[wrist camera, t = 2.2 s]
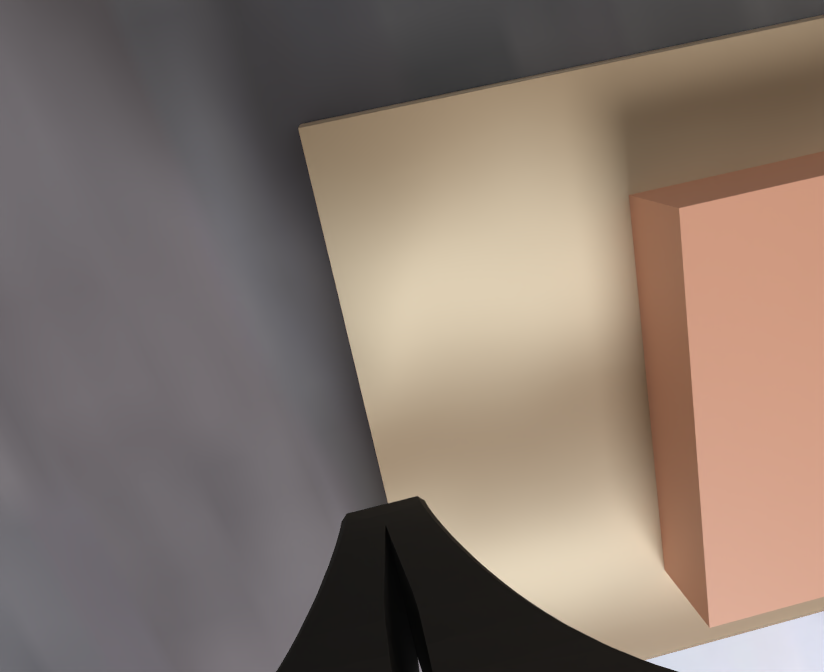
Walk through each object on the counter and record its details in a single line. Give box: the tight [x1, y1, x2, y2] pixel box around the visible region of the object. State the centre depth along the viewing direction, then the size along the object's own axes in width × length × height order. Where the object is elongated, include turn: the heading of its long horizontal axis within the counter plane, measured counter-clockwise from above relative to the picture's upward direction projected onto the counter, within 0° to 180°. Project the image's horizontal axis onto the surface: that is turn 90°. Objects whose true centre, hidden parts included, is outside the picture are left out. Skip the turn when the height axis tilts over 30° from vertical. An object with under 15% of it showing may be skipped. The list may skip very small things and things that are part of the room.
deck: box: [298, 15, 824, 660], centre depth 17 cm, size 14×16×4 cm
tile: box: [629, 151, 824, 628], centre depth 15 cm, size 9×6×2 cm, turn 11°
